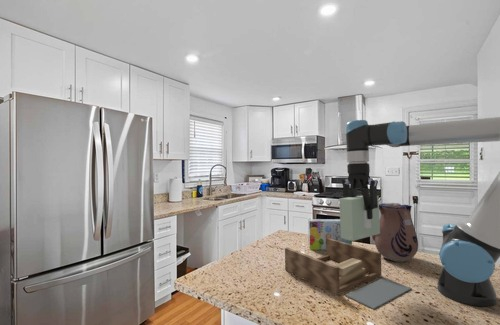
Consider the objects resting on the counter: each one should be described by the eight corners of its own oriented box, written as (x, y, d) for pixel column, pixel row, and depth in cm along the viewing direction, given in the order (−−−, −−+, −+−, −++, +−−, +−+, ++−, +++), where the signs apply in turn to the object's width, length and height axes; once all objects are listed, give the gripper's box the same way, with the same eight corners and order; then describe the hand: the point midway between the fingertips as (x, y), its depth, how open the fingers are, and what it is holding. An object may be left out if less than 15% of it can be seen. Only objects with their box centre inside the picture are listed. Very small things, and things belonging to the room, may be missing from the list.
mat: (411, 289, 91) (411, 288, 91) (373, 309, 79) (373, 308, 79) (383, 279, 100) (383, 277, 100) (345, 296, 87) (345, 294, 87)
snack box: (349, 247, 138) (348, 219, 139) (352, 251, 133) (351, 221, 133) (308, 246, 140) (308, 218, 141) (309, 250, 135) (309, 220, 135)
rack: (381, 275, 102) (381, 252, 103) (336, 295, 88) (336, 268, 88) (328, 256, 124) (328, 237, 124) (285, 269, 109) (285, 248, 110)
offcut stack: (365, 276, 102) (365, 261, 102) (339, 287, 93) (338, 270, 93) (354, 272, 106) (354, 257, 106) (328, 282, 97) (327, 266, 98)
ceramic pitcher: (426, 266, 111) (425, 207, 112) (373, 264, 115) (372, 207, 115) (408, 253, 129) (407, 202, 129) (362, 251, 132) (362, 201, 132)
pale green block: (380, 233, 97) (378, 195, 98) (353, 240, 89) (351, 199, 89) (367, 231, 102) (366, 195, 102) (340, 237, 93) (339, 198, 93)
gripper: (387, 161, 90) (390, 229, 90) (344, 163, 106) (346, 221, 105) (375, 162, 86) (378, 232, 86) (331, 163, 102) (333, 224, 101)
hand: (360, 226), depth 95 cm, fingers closed on pale green block, 5 cm apart
